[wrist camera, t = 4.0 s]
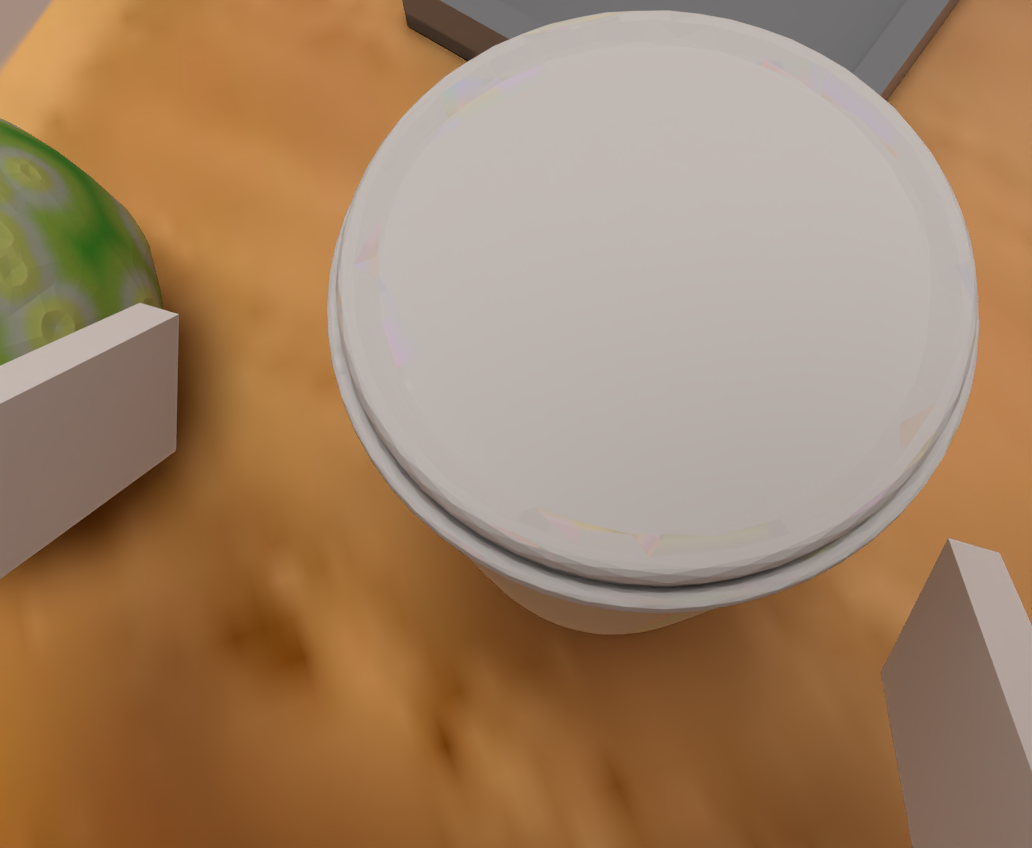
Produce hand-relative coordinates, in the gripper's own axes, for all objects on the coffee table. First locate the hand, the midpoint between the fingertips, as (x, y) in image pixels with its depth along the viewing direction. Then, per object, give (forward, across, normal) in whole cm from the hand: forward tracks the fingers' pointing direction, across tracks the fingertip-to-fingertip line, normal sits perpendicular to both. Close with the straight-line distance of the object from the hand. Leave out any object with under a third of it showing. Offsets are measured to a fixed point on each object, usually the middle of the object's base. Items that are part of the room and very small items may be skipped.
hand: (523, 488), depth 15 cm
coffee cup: (+8, +1, -4) cm, 9 cm away
